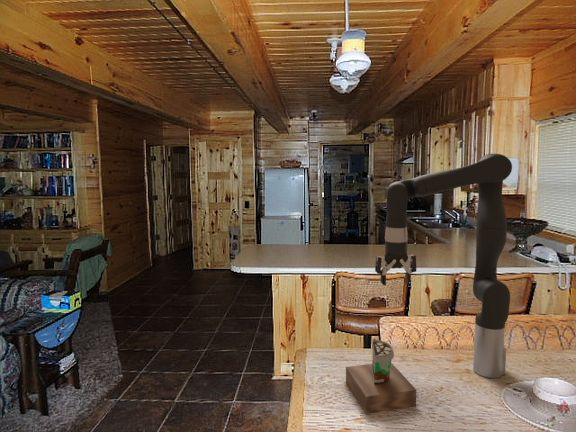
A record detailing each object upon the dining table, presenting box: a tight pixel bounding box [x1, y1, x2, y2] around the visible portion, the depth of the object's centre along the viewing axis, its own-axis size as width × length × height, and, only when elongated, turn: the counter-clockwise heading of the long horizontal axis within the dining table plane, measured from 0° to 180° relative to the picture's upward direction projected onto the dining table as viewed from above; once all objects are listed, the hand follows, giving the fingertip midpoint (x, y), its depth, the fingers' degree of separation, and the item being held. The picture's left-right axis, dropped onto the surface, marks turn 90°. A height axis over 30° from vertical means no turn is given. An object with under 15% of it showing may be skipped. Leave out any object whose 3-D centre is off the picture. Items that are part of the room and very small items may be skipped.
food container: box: [371, 339, 395, 385], centre depth 132 cm, size 12×6×10 cm, turn 172°
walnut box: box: [345, 362, 417, 415], centre depth 133 cm, size 16×18×6 cm
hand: (395, 284), depth 148 cm, fingers open, 8 cm apart
